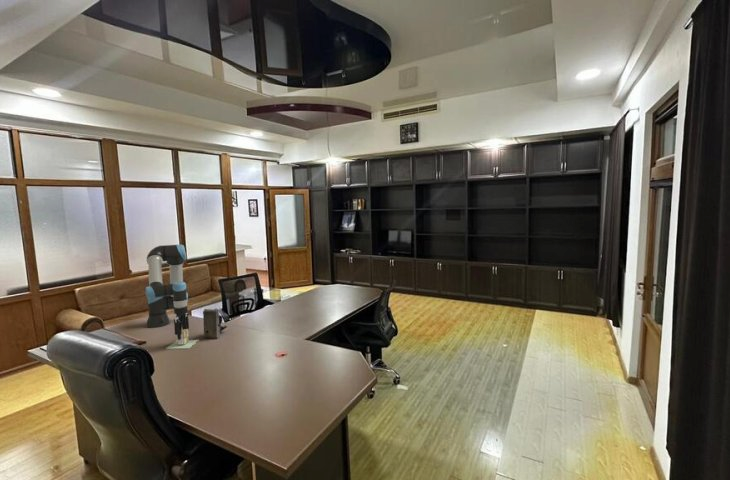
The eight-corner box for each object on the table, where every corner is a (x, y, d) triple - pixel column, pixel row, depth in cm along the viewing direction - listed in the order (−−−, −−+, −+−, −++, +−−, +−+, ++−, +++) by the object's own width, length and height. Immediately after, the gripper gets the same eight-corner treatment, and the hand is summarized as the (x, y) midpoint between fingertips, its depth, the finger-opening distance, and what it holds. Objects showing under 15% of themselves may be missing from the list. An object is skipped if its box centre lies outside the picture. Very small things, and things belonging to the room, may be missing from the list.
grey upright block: (229, 331, 242) (227, 304, 241) (217, 339, 226) (215, 309, 226) (216, 332, 243) (214, 304, 242) (203, 339, 227) (202, 309, 227)
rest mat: (177, 340, 225) (177, 340, 225) (199, 340, 225) (199, 339, 225) (165, 349, 211) (165, 348, 211) (188, 348, 211) (188, 347, 211)
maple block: (181, 341, 220) (180, 329, 220) (188, 341, 220) (188, 329, 220) (176, 344, 215) (176, 332, 215) (184, 344, 215) (184, 331, 215)
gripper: (182, 303, 225) (184, 337, 227) (166, 310, 207) (168, 348, 209) (193, 302, 225) (195, 337, 227) (178, 310, 207) (181, 347, 209)
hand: (182, 342), depth 218 cm, fingers closed on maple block, 5 cm apart
